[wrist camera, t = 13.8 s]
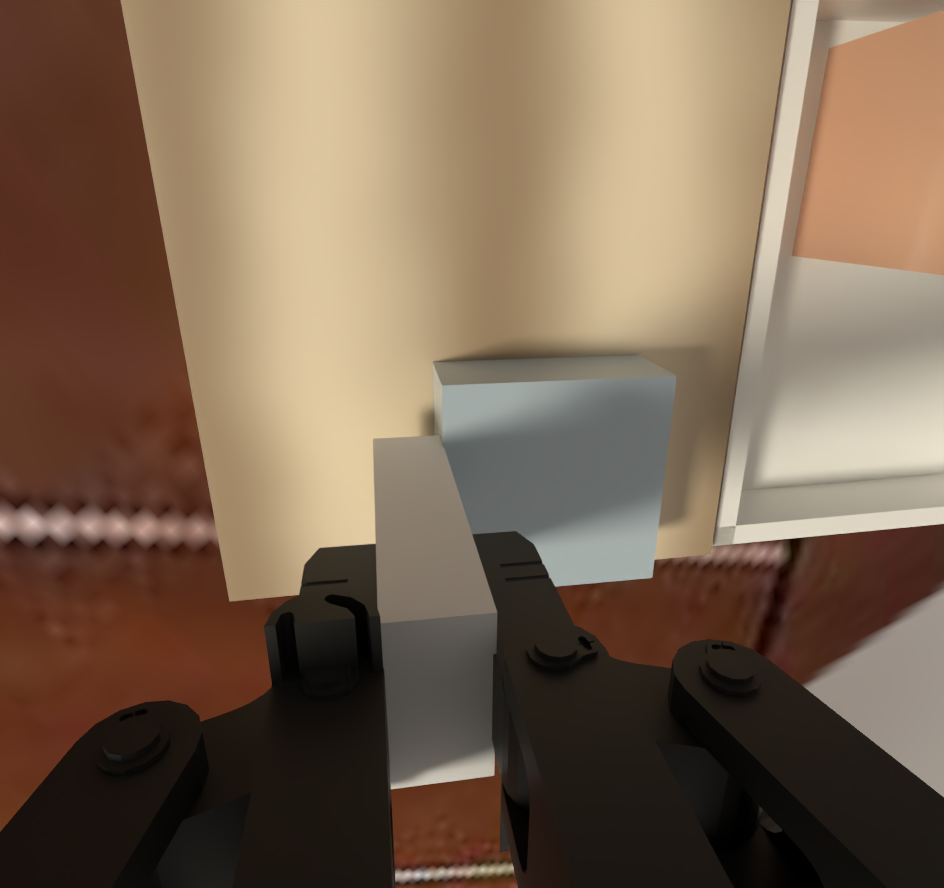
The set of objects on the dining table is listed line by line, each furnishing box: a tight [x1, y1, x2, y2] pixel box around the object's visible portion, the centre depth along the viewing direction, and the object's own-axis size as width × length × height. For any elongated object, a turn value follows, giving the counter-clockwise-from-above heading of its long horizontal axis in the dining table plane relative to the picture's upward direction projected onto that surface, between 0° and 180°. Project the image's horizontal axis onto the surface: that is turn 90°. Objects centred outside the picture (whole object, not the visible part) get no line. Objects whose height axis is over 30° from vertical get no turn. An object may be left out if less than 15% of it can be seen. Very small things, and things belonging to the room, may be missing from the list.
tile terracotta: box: [792, 10, 944, 275], centre depth 14 cm, size 5×5×2 cm
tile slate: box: [433, 355, 677, 586], centre depth 15 cm, size 5×5×2 cm
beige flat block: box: [121, 0, 791, 601], centre depth 16 cm, size 13×14×3 cm
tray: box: [712, 0, 944, 546], centre depth 17 cm, size 11×14×4 cm
